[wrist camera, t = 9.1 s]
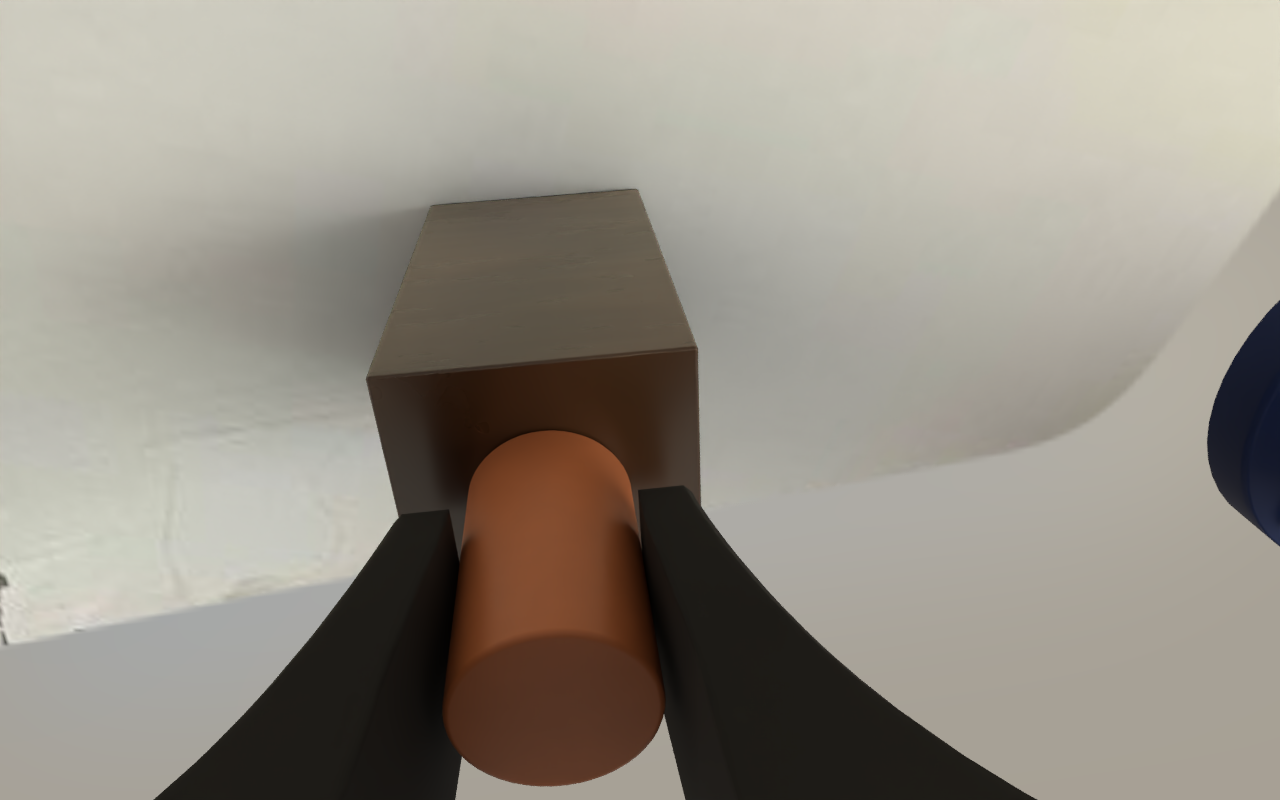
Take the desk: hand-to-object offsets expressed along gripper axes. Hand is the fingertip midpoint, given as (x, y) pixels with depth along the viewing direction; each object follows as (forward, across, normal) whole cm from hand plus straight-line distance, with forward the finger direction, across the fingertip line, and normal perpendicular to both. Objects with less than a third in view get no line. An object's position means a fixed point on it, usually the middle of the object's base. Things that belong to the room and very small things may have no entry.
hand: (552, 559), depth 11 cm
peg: (+1, 0, 0) cm, 1 cm away
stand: (+9, 0, 0) cm, 9 cm away
